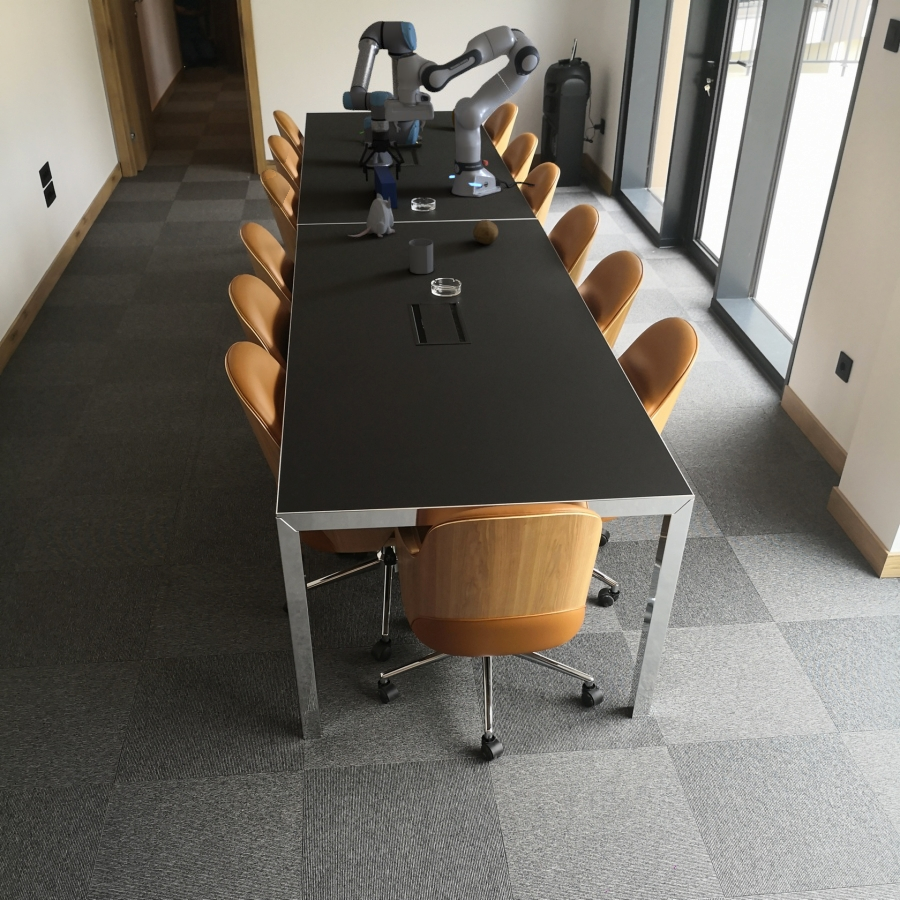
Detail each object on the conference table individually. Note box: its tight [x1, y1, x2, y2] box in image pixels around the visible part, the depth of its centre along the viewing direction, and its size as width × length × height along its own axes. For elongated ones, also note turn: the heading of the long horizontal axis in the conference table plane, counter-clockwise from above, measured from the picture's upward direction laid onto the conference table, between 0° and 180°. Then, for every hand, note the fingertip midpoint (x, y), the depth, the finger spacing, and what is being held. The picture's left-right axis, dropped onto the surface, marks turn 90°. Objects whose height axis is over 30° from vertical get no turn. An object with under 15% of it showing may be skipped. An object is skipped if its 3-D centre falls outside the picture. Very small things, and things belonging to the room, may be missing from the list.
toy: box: [347, 193, 396, 238], centre depth 333 cm, size 9×24×15 cm, turn 137°
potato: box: [472, 219, 499, 245], centre depth 330 cm, size 10×14×8 cm
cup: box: [408, 237, 434, 275], centre depth 305 cm, size 8×8×10 cm
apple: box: [451, 107, 455, 129], centre depth 487 cm, size 11×11×13 cm
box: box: [373, 166, 398, 210], centre depth 377 cm, size 28×6×11 cm, turn 11°
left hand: (382, 180), depth 385 cm, fingers open, 13 cm apart
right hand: (409, 131), depth 361 cm, fingers open, 8 cm apart
